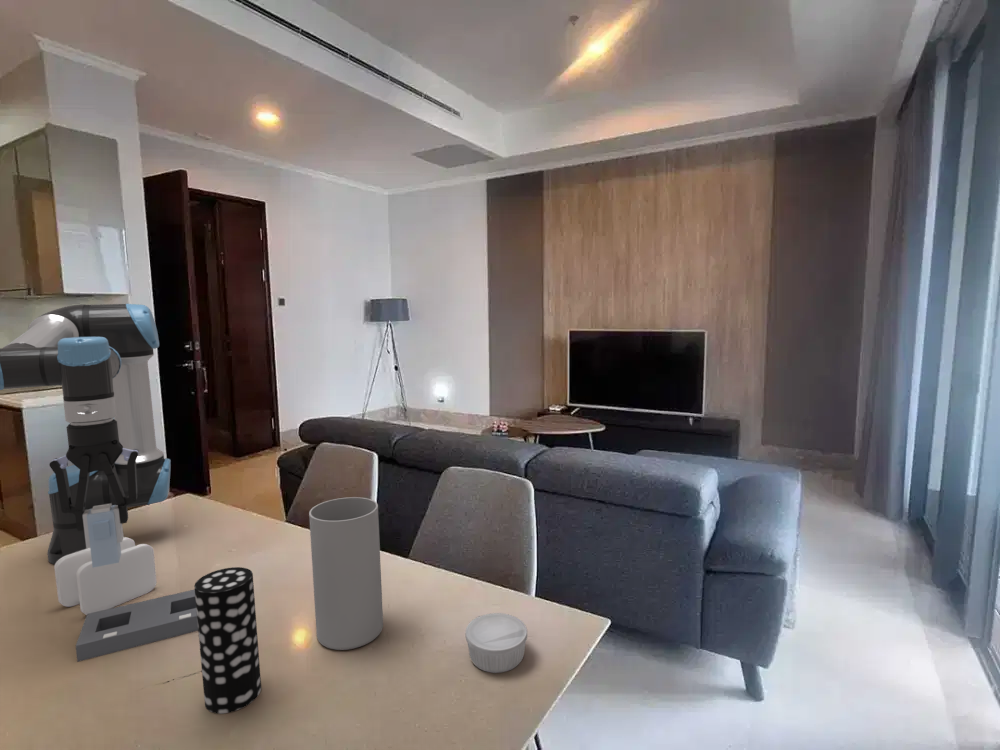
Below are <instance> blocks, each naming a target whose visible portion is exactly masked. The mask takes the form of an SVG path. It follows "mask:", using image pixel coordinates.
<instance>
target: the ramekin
mask: <svg viewBox="0 0 1000 750" xmlns="http://www.w3.org/2000/svg"><path fill="white" fill-rule="evenodd" d="M464 635H465V640H466V642H467V648H468V652H469V653H468V654H469V658H470V660H471V662H472V663H473V664H474V666H475V667H477V668H478V669H479V670H481V671H484V672H487V673H491V674H493V673H494V674H500V673H506V672H509V671H512V670H513V669H515V668H516V667H517V666H518V665H519V664H520V663H521V662H522V660H523V658H524V656H525V649H526V642H527V640H528V628H527V626H526V624H525V623H524V622H523V620H521V619H520V618H518V617H517V616H514V615H512V614H509V613H501V612H493V613H487V614H482V615H480V616H478V617H475V618H474V619H472V620H471V621H470V622H469V623H468V624H467V626H466V628H465V633H464Z"/></svg>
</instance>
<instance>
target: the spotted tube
mask: <svg viewBox="0 0 1000 750" xmlns="http://www.w3.org/2000/svg"><path fill="white" fill-rule="evenodd" d="M193 587H194V589H195V599H196V610H197V621H198V631H197V632H198V643H199V650H200V651H199V653H200V663H201V675H202V687H203V699H204V708H205V709H206V710H208V712H211V713H213V714H229V713H233V712H236V711H238V710H240V709H243V708H245V707H247V706H248V705H250V704H251V703H253V702H254V701H255V700H256V699H257V698H258V696H259V695H260V694H261V691H262V679H261V677H262V676H261V668H260V666H261V665H260V655H259V653H260V652H259V651H260V650H259V642H258V641H259V640H258V639H259V638H258V627H257V612H256V602H255V601H256V599H255V590H254V589H255V587H254V573H253V571H252V570H251V569H249V568H246V567H241V566H239V567H237V566H235V567H226V568H225V567H224V568H221V569H218V570H214V571H211V572H209V573H207V574H205V575H202V576H201V577H200V578H199V579H198V580H196V581H195V583H194V586H193Z"/></svg>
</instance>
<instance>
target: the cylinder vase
mask: <svg viewBox="0 0 1000 750" xmlns="http://www.w3.org/2000/svg"><path fill="white" fill-rule="evenodd" d="M308 514H309V515H308V517H309V533H310V547H311V548H310V549H311V551H310V552H311V563H312V564H311V566H312V582H313V583H312V584H313V585H312V586H313V596H314V614H315V615H314V616H315V630H316V638H317V641H318V642H319V643H320V644H321V645H322V646H323V647H326V648H327V649H329V650H338V651H345V650H348V651H349V650H352V649H357V648H360V647H363V646H365V645H368V644H369V643H371V642H372V641H374V640H375V639H376V638H377V637H378V636H379V635H380V634H381V632H382V630H383V627H384V614H383V612H384V611H383V610H384V608H383V593H382V592H383V590H382V586H383V585H382V571H381V569H382V568H381V545H380V544H381V543H380V525H379V520H380V519H379V504H378V502H376V501H375V500H374V499H370V498H368V497H359V496H358V497H357V496H352V497H341V498H334V499H328V500H326V501H323V502H320V503H318V504H317V505H315V506H312V508H311V509H309V512H308Z"/></svg>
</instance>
